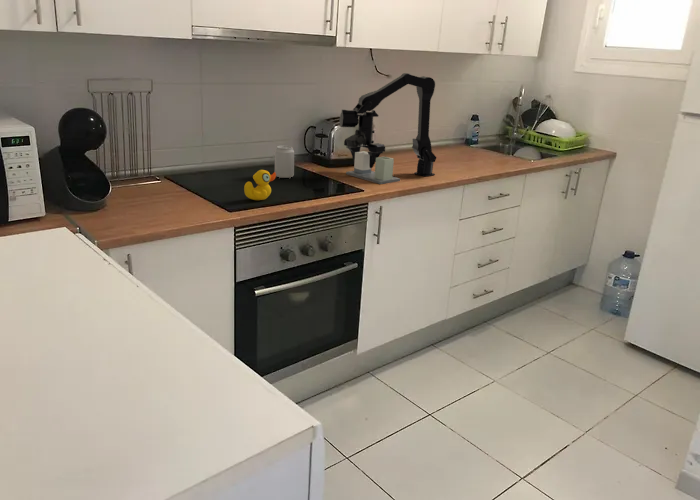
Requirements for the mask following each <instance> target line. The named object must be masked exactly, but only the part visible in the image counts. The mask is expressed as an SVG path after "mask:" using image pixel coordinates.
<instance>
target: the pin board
mask: <svg viewBox="0 0 700 500" xmlns="http://www.w3.org/2000/svg"><path fill="white" fill-rule="evenodd" d="M394 161H395V158H393V157H388V156H379V157H377V158H376V162H375V164H374V170H371V173H367V174H360V173H357V172H354V170H349V171H346V172H345V175H347V176H351V177H355V178H357V179H362V180H365V181H368V182H371V183H374V184H379V185H383V184H389V183H390V184H391V183H396V182H397V183H398V182H400V181H401V178H399V177H396V176H393V174H394V164H395V163H394Z"/></svg>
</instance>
